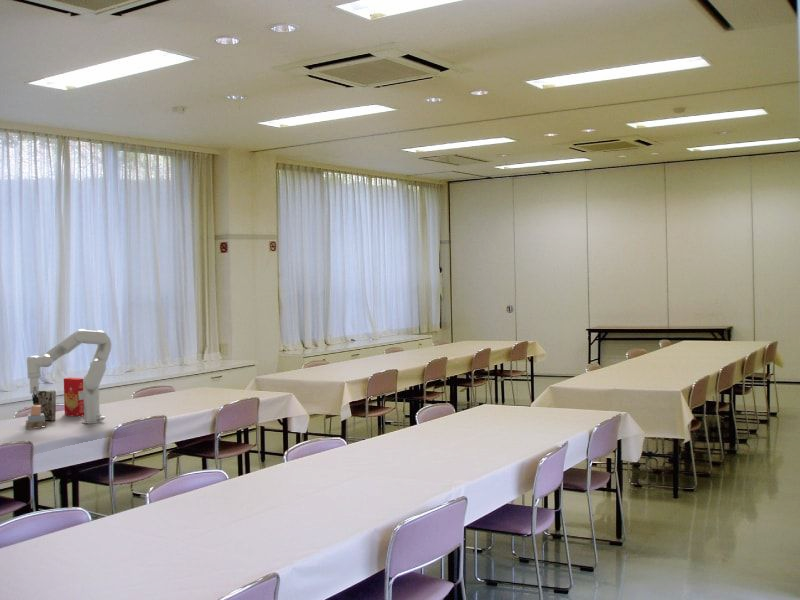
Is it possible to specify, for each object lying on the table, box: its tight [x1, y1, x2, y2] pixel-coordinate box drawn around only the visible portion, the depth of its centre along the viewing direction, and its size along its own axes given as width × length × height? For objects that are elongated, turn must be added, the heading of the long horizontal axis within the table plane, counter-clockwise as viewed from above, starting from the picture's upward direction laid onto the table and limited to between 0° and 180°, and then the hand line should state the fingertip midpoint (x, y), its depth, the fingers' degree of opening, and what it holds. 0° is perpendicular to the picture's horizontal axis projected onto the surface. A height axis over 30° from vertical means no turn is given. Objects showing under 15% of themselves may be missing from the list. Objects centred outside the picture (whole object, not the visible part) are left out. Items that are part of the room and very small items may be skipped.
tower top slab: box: [27, 413, 45, 423], centre depth 515 cm, size 9×9×4 cm
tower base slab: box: [25, 419, 47, 429], centre depth 515 cm, size 11×11×4 cm
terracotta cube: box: [30, 404, 41, 416], centre depth 514 cm, size 6×6×6 cm
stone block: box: [33, 389, 57, 421], centre depth 535 cm, size 13×7×20 cm, turn 92°
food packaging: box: [63, 377, 84, 417], centre depth 553 cm, size 15×5×25 cm, turn 60°
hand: (35, 402), depth 513 cm, fingers open, 9 cm apart
